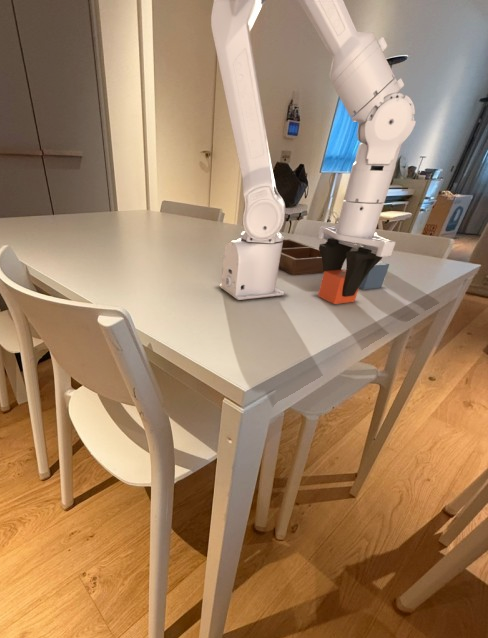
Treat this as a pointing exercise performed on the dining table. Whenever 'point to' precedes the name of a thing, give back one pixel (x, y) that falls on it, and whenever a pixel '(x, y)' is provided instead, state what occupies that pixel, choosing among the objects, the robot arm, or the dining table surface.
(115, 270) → the dining table surface
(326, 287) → the terracotta block
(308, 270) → the tray
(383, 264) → the blue block
